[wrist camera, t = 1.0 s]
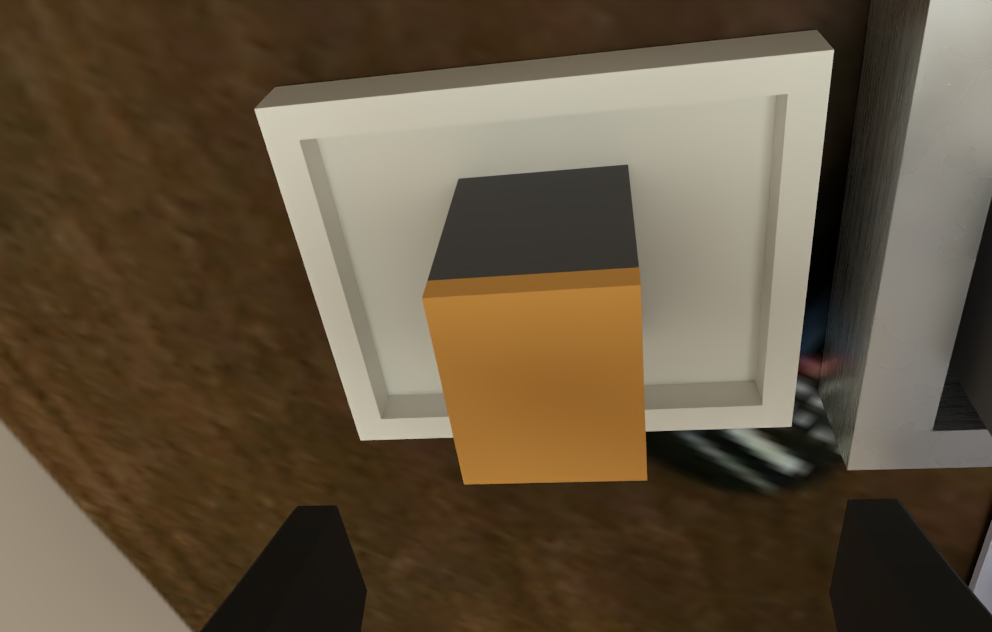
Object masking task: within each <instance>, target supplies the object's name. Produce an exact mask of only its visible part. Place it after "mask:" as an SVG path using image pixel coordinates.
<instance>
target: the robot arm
mask: <svg viewBox="0 0 992 632" xmlns="http://www.w3.org/2000/svg"><path fill="white" fill-rule="evenodd" d="M366 593H367V589H366V587H365V584H364V581H363V578H362V575H361V572H360V570H359V567H358V564H357V561H356V558H355V556H354V553H353V550H352V547H351V544H350V541H349V539H348V536H347V533H346V530H345V527H344V525H343V522H342V519H341V516H340V513H339V510H338V508H337V506H297V508H296V509H295V510H294V511H293V512H292V513H291V514H290V516H289V517H288V518H287V520H286V521H285V522H284V524H283V525H282V526H281V527H280V529H279V530H278V531H277V533H276V534H275V535H274V537H273V538H272V539H271V541H270V542H269V543H268V545H267V546H266V547H265V549H264V550H263V551H262V553H261V554H260V555H259V557H258V558H257V559H256V561H255V562H254V563H253V565H252V566H251V567H250V569H249V570H248V571H247V572H246V574H245V575H244V576H243V578H242V579H241V580H240V582H239V583H238V584H237V585H236V587H235V588H234V589H233V591H232V592H231V593H230V594H229V596H228V597H227V598H226V599H225V601H224V602H223V603H222V604H221V606H220V607H219V608H218V609H217V611H216V612H215V613H214V614H213V616H212V617H211V618H210V619H209V621H208V622H207V623H206V624H205V626H204V627H203V628H202V629H201V631H200V632H360V631H361V625H362V619H363V612H364V606H365V599H366ZM830 598H831V603H832V607H833V612H834V617H835V622H836V627H837V631H838V632H992V520H991V523H990V526H989V529H988V532H987V535H986V538H985V541H984V544H983V547H982V549H981V552H980V555H979V558H978V561H977V564H976V567H975V570H974V573H973V576H972V578H971V581H970V584H969V587H968V586H967V584H966V583H965V582H964V581H963V580H962V578H961V577H960V576H959V575H958V574H957V572H956V571H955V570H954V569H953V568H952V566H951V565H950V564H949V563H948V561H947V560H946V559H945V558H944V556H943V555H942V554H941V553H940V551H939V550H938V549H937V548H936V546H935V545H934V544H933V543H932V541H931V540H930V539H929V538H928V536H927V535H926V534H925V533H924V531H923V530H922V529H921V527H920V526H919V525H918V524H917V522H916V521H915V520H914V518H913V517H912V516H911V515H910V513H909V512H908V511H907V509H906V508H905V507H904V505H903V504H901V503H900V502H899V501H898V500H897V499H857V500H848V502H847V507H846V512H845V517H844V522H843V527H842V532H841V537H840V542H839V547H838V552H837V558H836V563H835V568H834V573H833V578H832V583H831V588H830Z"/></svg>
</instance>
